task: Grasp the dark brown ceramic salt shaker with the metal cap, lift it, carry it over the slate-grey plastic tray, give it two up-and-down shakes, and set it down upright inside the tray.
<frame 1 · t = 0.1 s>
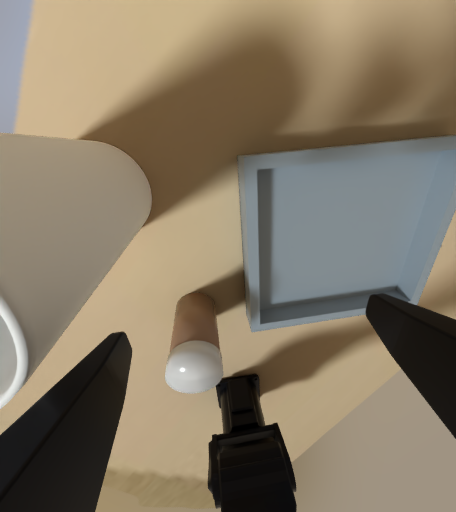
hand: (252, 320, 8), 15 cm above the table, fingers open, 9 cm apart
shaker: (195, 308, 25), on the table
cup: (104, 193, 19), on the table
tray: (332, 237, 23), on the table
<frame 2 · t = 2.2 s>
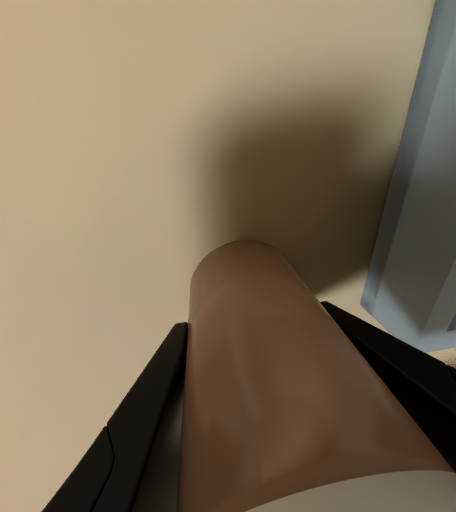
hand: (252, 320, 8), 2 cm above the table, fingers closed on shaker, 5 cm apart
shaker: (242, 288, 10), on the table, touching gripper
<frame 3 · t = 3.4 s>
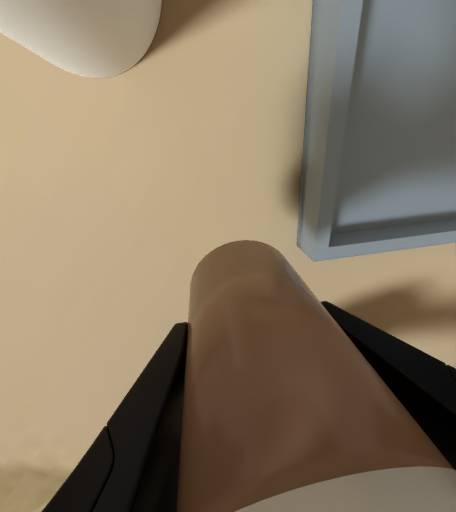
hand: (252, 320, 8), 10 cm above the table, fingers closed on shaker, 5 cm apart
shaker: (242, 287, 10), point 8 cm above the table, touching gripper
tray: (444, 108, 15), on the table
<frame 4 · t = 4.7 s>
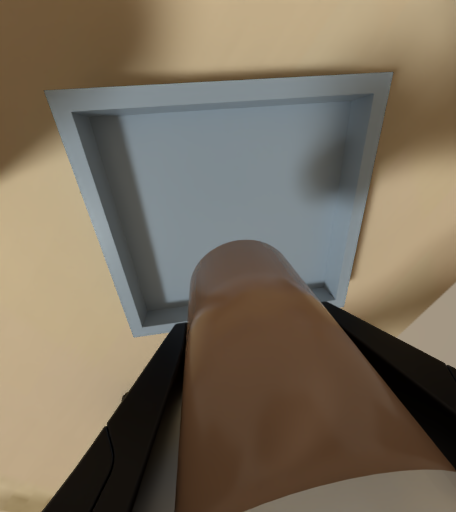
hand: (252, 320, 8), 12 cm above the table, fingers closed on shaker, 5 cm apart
shaker: (241, 287, 10), point 10 cm above the table, touching gripper
tray: (232, 219, 19), on the table
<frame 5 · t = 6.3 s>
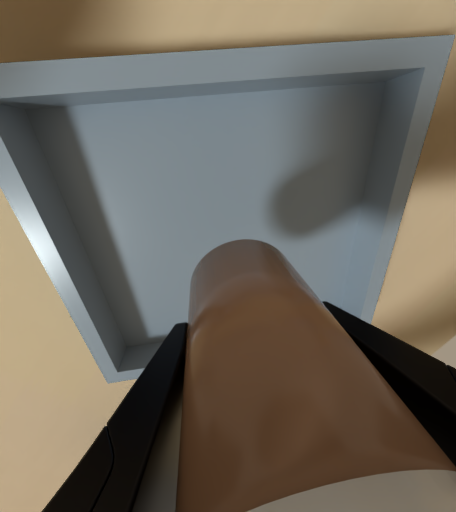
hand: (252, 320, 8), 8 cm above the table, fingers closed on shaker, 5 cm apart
shaker: (242, 287, 10), point 6 cm above the table, touching gripper
tray: (227, 237, 15), on the table
when the fingers open (4 cm above the table, at t = 7.2 s): shaker drops 1 cm, resting on tray.
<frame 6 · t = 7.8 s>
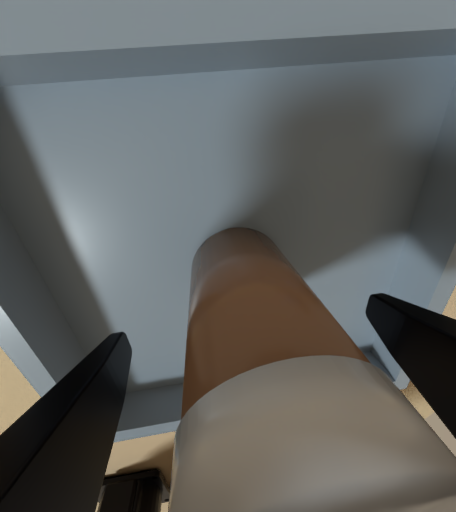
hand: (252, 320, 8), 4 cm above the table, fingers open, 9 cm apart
shaker: (237, 270, 11), point 1 cm above the table, touching tray
tray: (235, 264, 12), on the table
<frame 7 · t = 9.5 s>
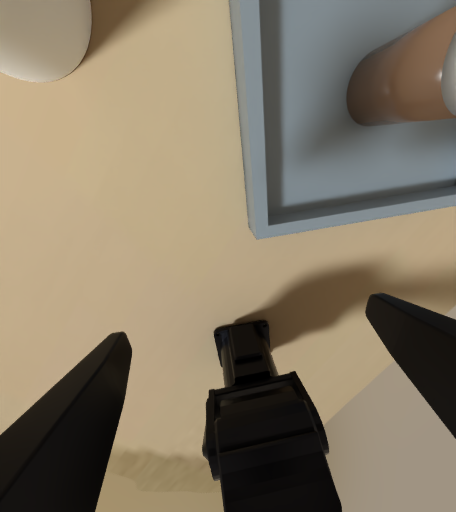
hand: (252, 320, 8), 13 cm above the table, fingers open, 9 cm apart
shaker: (377, 88, 15), point 1 cm above the table, touching tray
tray: (369, 92, 16), on the table
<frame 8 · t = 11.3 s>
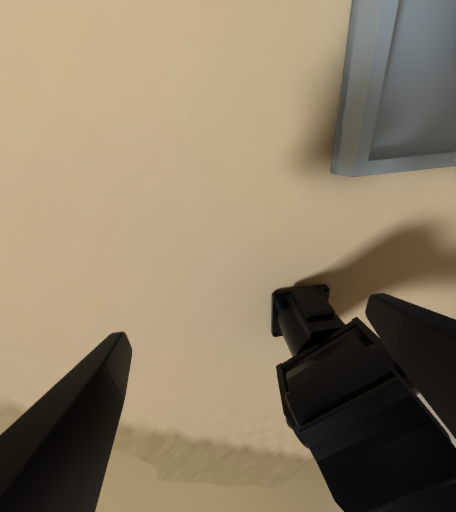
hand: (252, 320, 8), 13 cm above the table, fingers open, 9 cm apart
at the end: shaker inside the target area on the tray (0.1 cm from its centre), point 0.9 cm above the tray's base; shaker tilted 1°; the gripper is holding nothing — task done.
